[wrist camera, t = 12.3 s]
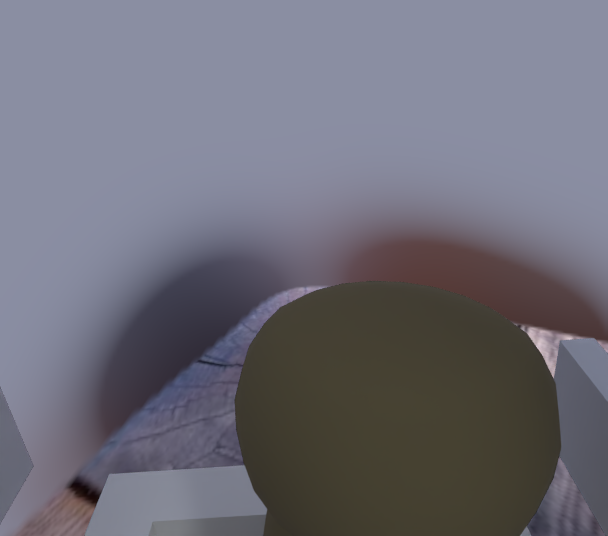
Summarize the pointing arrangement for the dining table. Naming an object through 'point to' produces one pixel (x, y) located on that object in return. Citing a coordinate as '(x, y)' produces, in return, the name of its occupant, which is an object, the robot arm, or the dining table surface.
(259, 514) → the well block
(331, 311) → the olive pawn
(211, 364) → the dining table surface
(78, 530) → the dining table surface
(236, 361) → the dining table surface
